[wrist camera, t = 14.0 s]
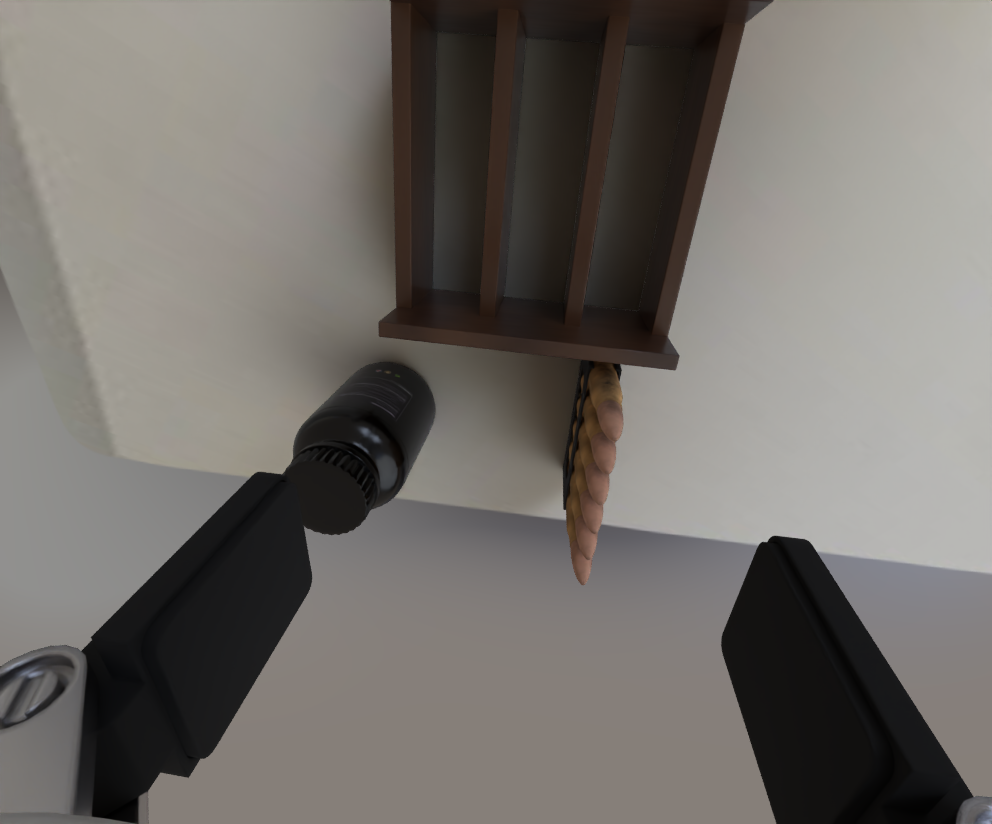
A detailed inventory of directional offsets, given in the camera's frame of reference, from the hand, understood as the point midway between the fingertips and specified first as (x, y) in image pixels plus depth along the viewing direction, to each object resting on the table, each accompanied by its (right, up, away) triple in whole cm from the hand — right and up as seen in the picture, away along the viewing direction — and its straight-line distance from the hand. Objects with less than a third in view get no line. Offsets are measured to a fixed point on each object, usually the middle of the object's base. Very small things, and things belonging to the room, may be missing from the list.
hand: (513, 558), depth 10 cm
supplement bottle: (-8, +4, +26) cm, 27 cm away
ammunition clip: (+6, +3, +24) cm, 25 cm away
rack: (+3, +16, +18) cm, 24 cm away
